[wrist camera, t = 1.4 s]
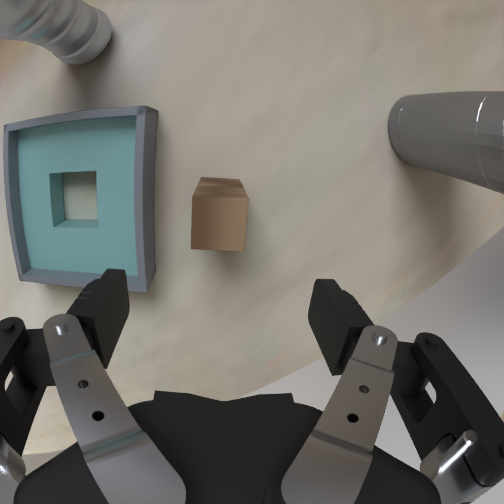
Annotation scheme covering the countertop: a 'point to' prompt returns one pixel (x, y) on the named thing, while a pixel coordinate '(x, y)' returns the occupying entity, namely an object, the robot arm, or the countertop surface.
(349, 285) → the countertop surface
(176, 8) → the countertop surface
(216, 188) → the peg
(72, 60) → the plastic bottle
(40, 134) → the box
